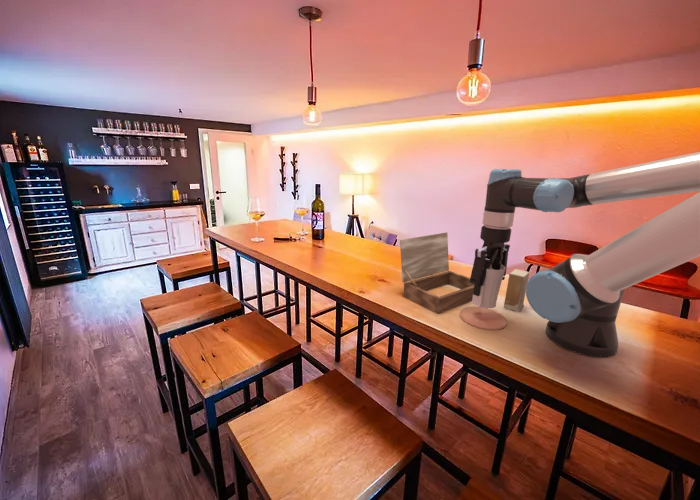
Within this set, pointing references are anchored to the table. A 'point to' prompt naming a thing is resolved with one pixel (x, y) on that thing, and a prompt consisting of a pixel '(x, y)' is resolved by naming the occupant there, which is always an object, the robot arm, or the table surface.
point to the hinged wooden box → (431, 273)
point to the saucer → (483, 318)
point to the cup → (492, 286)
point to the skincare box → (516, 290)
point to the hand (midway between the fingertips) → (484, 301)
